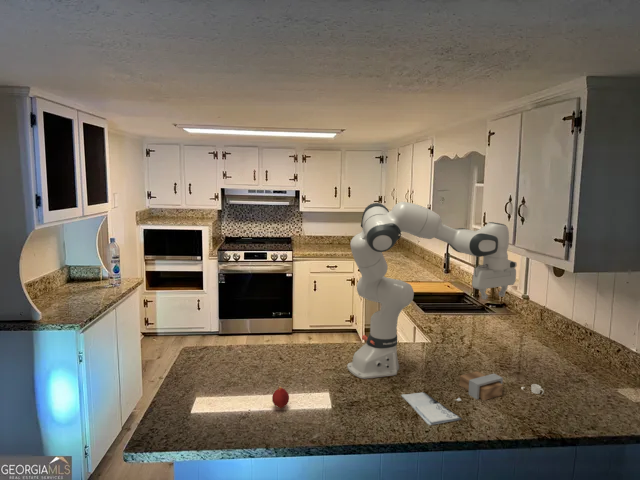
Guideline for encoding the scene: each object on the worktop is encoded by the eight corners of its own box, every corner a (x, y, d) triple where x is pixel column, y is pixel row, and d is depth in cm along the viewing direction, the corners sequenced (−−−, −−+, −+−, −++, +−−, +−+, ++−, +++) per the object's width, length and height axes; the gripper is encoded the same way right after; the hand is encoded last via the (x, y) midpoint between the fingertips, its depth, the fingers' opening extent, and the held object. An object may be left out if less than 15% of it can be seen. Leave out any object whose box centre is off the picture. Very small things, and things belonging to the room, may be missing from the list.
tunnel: (476, 400, 148) (477, 384, 147) (468, 395, 151) (469, 379, 150) (501, 393, 153) (502, 377, 152) (493, 388, 156) (494, 373, 156)
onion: (280, 401, 148) (280, 380, 147) (292, 407, 144) (292, 386, 143) (269, 408, 144) (268, 387, 143) (280, 414, 140) (280, 392, 139)
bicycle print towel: (429, 427, 134) (429, 421, 133) (400, 397, 153) (400, 391, 153) (479, 418, 139) (479, 412, 139) (445, 390, 158) (445, 384, 158)
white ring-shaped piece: (516, 392, 156) (517, 382, 156) (532, 388, 159) (533, 378, 159) (535, 403, 148) (536, 393, 148) (552, 399, 151) (553, 389, 150)
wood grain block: (483, 400, 147) (484, 389, 146) (459, 385, 158) (459, 375, 157) (502, 395, 151) (502, 384, 150) (476, 380, 161) (477, 371, 161)
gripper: (481, 267, 155) (479, 302, 157) (519, 262, 163) (517, 296, 165) (469, 264, 160) (467, 298, 162) (506, 260, 169) (504, 292, 171)
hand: (493, 297), depth 164 cm, fingers open, 8 cm apart
